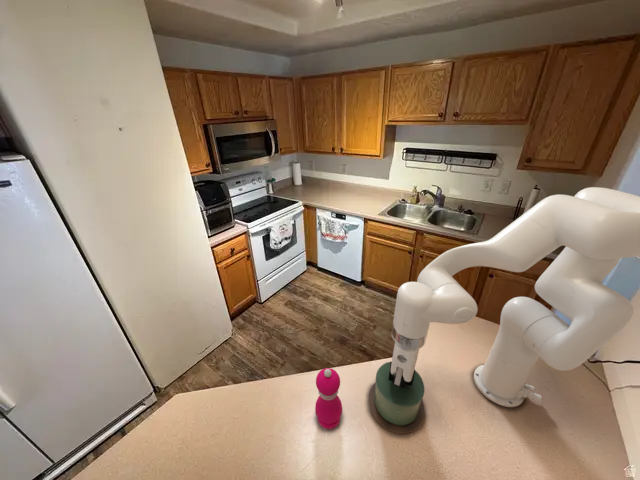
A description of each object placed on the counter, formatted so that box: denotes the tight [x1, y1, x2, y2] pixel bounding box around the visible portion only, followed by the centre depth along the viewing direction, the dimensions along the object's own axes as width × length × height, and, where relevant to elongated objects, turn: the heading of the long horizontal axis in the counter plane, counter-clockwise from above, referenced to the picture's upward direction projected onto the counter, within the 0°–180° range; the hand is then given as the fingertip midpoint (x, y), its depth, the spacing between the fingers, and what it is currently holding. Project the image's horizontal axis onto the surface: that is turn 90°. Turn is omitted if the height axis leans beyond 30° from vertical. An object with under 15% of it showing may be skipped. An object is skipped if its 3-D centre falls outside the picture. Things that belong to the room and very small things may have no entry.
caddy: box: [374, 360, 425, 425], centre depth 69 cm, size 12×12×15 cm
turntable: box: [368, 381, 425, 435], centre depth 73 cm, size 15×15×1 cm
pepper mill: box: [314, 367, 343, 430], centre depth 66 cm, size 7×7×20 cm
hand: (399, 380), depth 68 cm, fingers closed on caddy
